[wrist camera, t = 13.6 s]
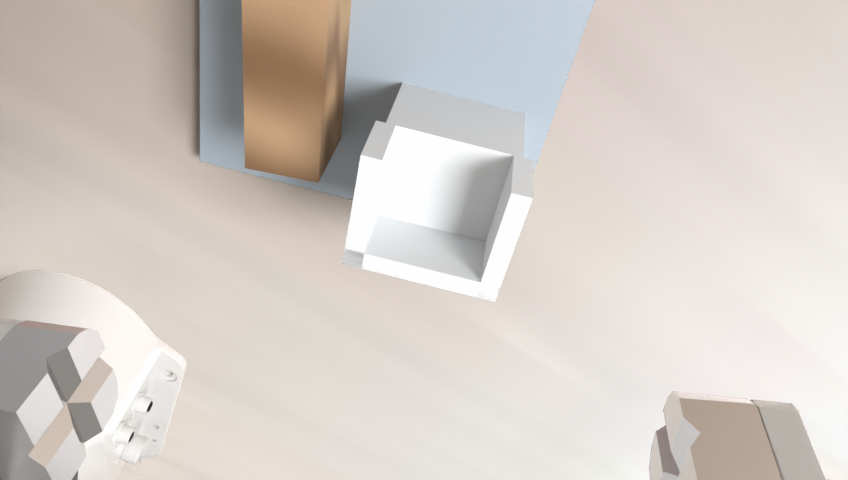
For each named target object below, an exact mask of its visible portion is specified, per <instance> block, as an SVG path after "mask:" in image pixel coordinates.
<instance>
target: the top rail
mask: <svg viewBox="0 0 848 480" xmlns="http://www.w3.org/2000/svg"><path fill="white" fill-rule="evenodd" d="M351 1H352V0H242V46H243V95H244V143H245V168H247V169H252V170H257V171H262V172H267V173H272V174H277V175H282V176H286V177H291V178H296V179H301V180H306V181H311V182H316V183H318V182H319V180H320V179H321V177H322V175H323V173H324V171H325V169H326V167H327V165H328V163H329V161H330V159H331V157H332V155H333V153H334V151H335V149H336V147H337V145H338V143H339V142H340V140H341V130H342V117H343V104H344V91H345V78H346V65H347V52H348V39H349V27H350V14H351Z"/></svg>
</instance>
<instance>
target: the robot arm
mask: <svg viewBox="0 0 848 480" xmlns="http://www.w3.org/2000/svg"><path fill="white" fill-rule="evenodd" d="M186 367H187V364H186V361H185V359H184V358H183V357H182V356H181V355H180V354H179V353H177V352H176V351H175V350H174V349H172V348H171V347H169V346H168V345H166V344H165V343H163V342H162V341H161V340H159V339H158V338H157V337H156V336H155V335H154V334H153V333H152V332H151V330H150V329H149V328H148V327H147V326H146V324H145V323H144V322H143V321H142V320H141V319H140V317H139V316H138V315H137V314H136V313H135V312H134V311H133V310H131V309H130V308H129V307H128V306H127V305H126V304H124V303H123V302H122V301H121V300H119V299H118V298H116V297H115V296H114V295H112V294H111V293H109V292H107V291H106V290H104V289H102V288H100V287H99V286H97V285H95V284H92V283H90V282H88V281H86V280H83V279H81V278H78V277H75V276H72V275H68V274H64V273H60V272H54V271H47V270H30V271H23V272H19V273H15V274H12V275H10V276H8V277H6V278H5V279H3V280H2V281H0V480H115V479H116V478H117V476H118V475H119V473H120V472H121V470H122V468H123V467H124V465H125V464H126V462H128V463H131V464H134V465H135V464H139V462H140V461H141V459H142V458H149V457H156V456H158V455H159V454H160V453H161V451H162V449H163V446H164V443H165V440H166V436H167V433H168V429H169V426H170V422H171V419H172V416H173V412H174V409H175V405H176V402H177V398H178V395H179V391H180V388H181V385H182V381H183V378H184V374H185V371H186ZM166 370H170V371H172V372H173V373H169V372H167V371H166ZM663 411H664V417H665V422H666V426H664V427H662V428H661V429H659V430H657V431H656V433H655V436H654V440H653V443H652V447H651V455H650V465H649V471H650V480H827V479H826V477H825V474H824V472H823V469H822V467H821V464H820V462H819V460H818V457H817V455H816V452H815V450H814V447H813V445H812V442H811V440H810V437H809V435H808V433H807V430H806V428H805V425H804V423H803V420H802V418H801V415H800V413H799V411H798V409H797V408H796V407H795V406H794V405H793V404H790V403H780V402H771V401H761V400H748V399H744V398H734V397H724V396H714V395H703V394H693V393H683V392H672V393H671V394H670V395H669V397H668V398H667V401H666V404H665V406H664V409H663Z"/></svg>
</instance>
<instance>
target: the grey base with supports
mask: <svg viewBox="0 0 848 480" xmlns="http://www.w3.org/2000/svg"><path fill="white" fill-rule="evenodd" d="M594 1H595V0H352V1H351V14H350V27H349V39H348V52H347V65H346V78H345V91H344V104H343V117H342V130H341V140H340V142H339V143H338V145H337V147H336V149H335V151H334V153H333V155H332V157H331V159H330V161H329V163H328V165H327V167H326V169H325V171H324V173H323V175H322V177H321V179H320V180H319V182H318V183H316V182H311V181H306V180H301V179H296V178H291V177H286V176H282V175H277V174H272V173H267V172H262V171H257V170H252V169H247V168H245V143H244V95H243V46H242V0H200V162H204V163H208V164H212V165H216V166H219V167H223V168H227V169H231V170H235V171H239V172H243V173H247V174H251V175H255V176H259V177H263V178H267V179H271V180H275V181H279V182H283V183H287V184H291V185H295V186H299V187H303V188H307V189H311V190H315V191H319V192H323V193H327V194H331V195H335V196H339V197H343V198H347V199H351V200H353V203H352V209H351V215H350V221H349V227H348V233H347V239H346V245H345V251H344V257H343V263H342V264H346V265H350V266H354V267H358V268H362V269H366V270H370V271H374V272H378V273H382V274H386V275H390V276H394V277H398V278H402V279H406V280H410V281H414V282H418V283H422V284H426V285H430V286H434V287H438V288H442V289H446V290H450V291H454V292H458V293H462V294H466V295H470V296H474V297H478V298H482V299H486V300H490V301H494V302H495V300H496V297H497V295H498V292H499V289H500V286H501V284H502V281H503V278H504V275H505V273H506V270H507V267H508V265H509V262H510V259H511V256H512V254H513V251H514V248H515V245H516V243H517V240H518V237H519V234H520V232H521V229H522V226H523V224H524V221H525V218H526V215H527V213H528V210H529V207H530V204H531V202H532V199H533V172H534V169H535V167H536V164H537V161H538V158H539V155H540V152H541V150H542V147H543V144H544V141H545V138H546V136H547V133H548V130H549V127H550V124H551V122H552V119H553V116H554V113H555V110H556V108H557V105H558V102H559V99H560V96H561V94H562V91H563V88H564V85H565V82H566V80H567V77H568V74H569V71H570V68H571V66H572V63H573V60H574V57H575V54H576V52H577V49H578V46H579V43H580V40H581V37H582V35H583V32H584V29H585V26H586V23H587V21H588V18H589V15H590V12H591V9H592V7H593V4H594Z"/></svg>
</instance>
